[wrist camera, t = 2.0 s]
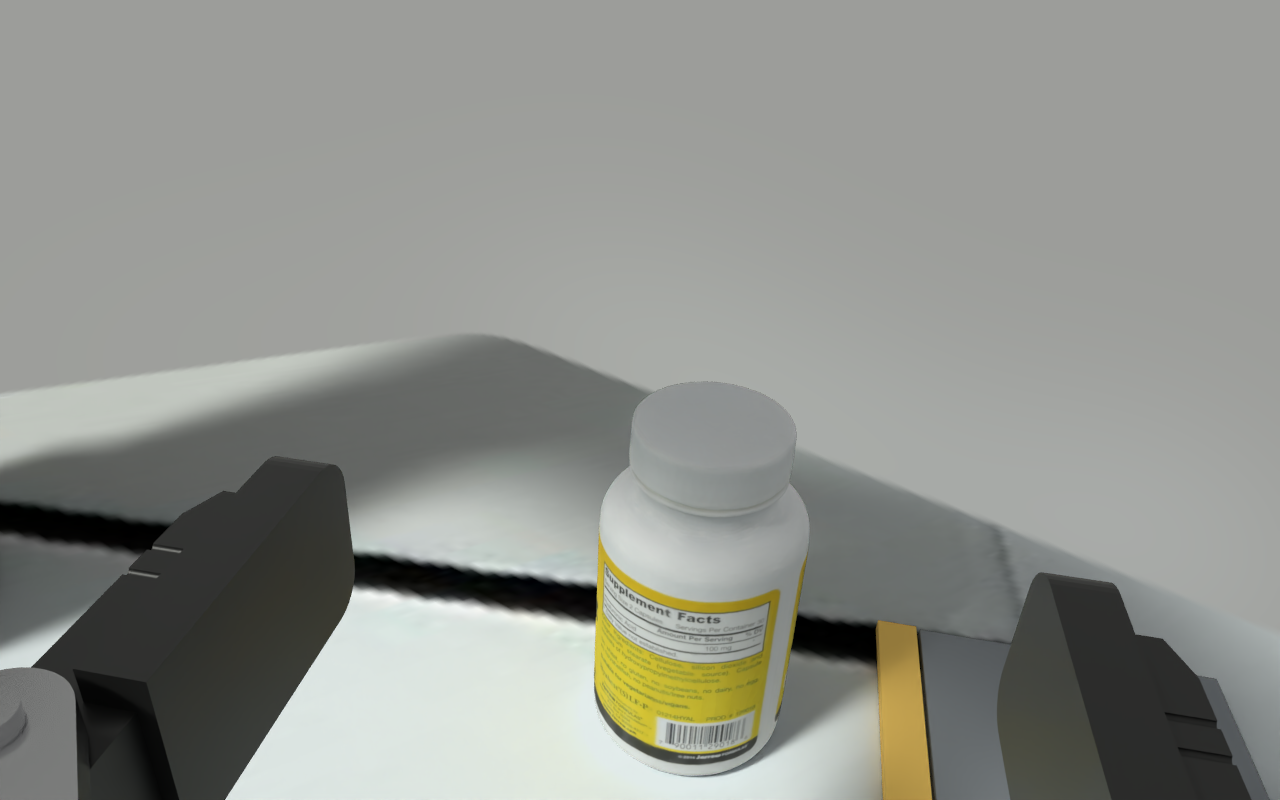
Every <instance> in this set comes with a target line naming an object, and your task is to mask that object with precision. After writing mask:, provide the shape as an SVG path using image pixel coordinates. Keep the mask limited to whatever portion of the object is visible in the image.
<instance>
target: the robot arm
mask: <svg viewBox="0 0 1280 800" xmlns="http://www.w3.org/2000/svg"><path fill="white" fill-rule="evenodd" d="M354 573H355V567H354V557H353V549H352V540H351V532H350V524H349V516H348V508H347V499H346V491H345V483H344V478H343V475H342V472H341V470H340V469H339V468H338V467H337V466H336V465H331V464H325V463H318V462H311V461H304V460H298V459H291V458H284V457H276V456H275V457H272V458H270V459H268V460H267V461H266V462H265V463H264V464H263V465H262V466H261V467H260V468H259V469H258V470H257V471H256V472H255V473H254V474H253V475H252V476H251V478H250V479H249V480H248V481H247V482H246V483H245V484H244V485H243V486H242V487H241V488H240V489H239V490H238V492H237V493H233V492H226V491H223V492H221V493H219V494H217V495H215V496H214V497H212V498H210V499H208V500H206V501H205V502H203V503H201V504H199V505H197V506H196V507H194V508H192V509H190V510H188V511H187V512H185V513H183V514H182V515H181V516H180V517H179V518H178V519H177V520H176V521H175V522H174V523H173V524H172V525H171V526H170V527H169V528H168V529H167V530H166V531H165V532H164V533H163V534H162V535H161V536H160V537H159V538H158V539H157V540H156V541H155V542H154V543H153V548H152V550H146V551H145V552H144V553H143V554H142V555H141V556H140V557H139V558H138V559H137V560H136V561H135V562H134V563H133V564H132V565H131V566H130V567H129V572H128V574H127V575H124V574H123V575H122V576H121V577H120V578H119V579H118V580H117V581H116V582H115V583H114V584H113V585H112V586H111V587H110V588H109V589H108V590H107V591H106V592H105V593H104V594H103V595H102V596H101V597H100V598H99V599H98V600H97V601H96V602H95V603H94V604H93V605H92V606H91V607H90V608H89V609H88V610H87V611H86V612H85V613H84V614H83V615H82V616H81V617H80V618H79V619H78V620H77V621H76V622H75V623H74V624H73V625H72V626H71V627H70V628H69V629H68V631H67V632H66V633H65V634H64V635H63V636H62V637H61V638H60V639H59V640H58V641H57V642H56V643H55V644H54V645H53V646H52V647H51V648H50V649H49V650H48V651H47V652H46V653H45V654H44V655H43V656H42V657H41V658H40V659H39V660H38V661H37V662H36V663H35V664H34V665H33V666H32V667H31V668H12V669H4V670H0V800H225V799H226V797H227V796H228V794H229V793H230V791H231V789H232V788H233V786H234V785H235V783H236V782H237V780H238V779H239V777H240V775H241V774H242V772H243V771H244V769H245V768H246V766H247V765H248V763H249V762H250V760H251V758H252V757H253V755H254V754H255V752H256V751H257V749H258V748H259V746H260V744H261V743H262V741H263V740H264V738H265V737H266V735H267V734H268V732H269V730H270V729H271V727H272V726H273V724H274V723H275V721H276V720H277V718H278V717H279V715H280V713H281V712H282V710H283V709H284V707H285V706H286V704H287V703H288V701H289V699H290V698H291V696H292V695H293V693H294V692H295V690H296V689H297V687H298V685H299V684H300V682H301V681H302V679H303V678H304V676H305V675H306V673H307V672H308V670H309V668H310V667H311V665H312V664H313V662H314V661H315V659H316V658H317V656H318V654H319V653H320V651H321V650H322V648H323V647H324V645H325V644H326V642H327V640H328V639H329V637H330V636H331V634H332V633H333V631H334V630H335V628H336V626H337V625H338V623H339V622H340V620H341V619H342V617H343V615H344V613H345V611H346V609H347V606H348V603H349V600H350V597H351V593H352V589H353V583H354ZM997 725H998V733H999V739H1000V745H1001V750H1002V756H1003V761H1004V767H1005V773H1006V778H1007V784H1008V789H1009V795H1010V800H1251V797H1250V795H1249V793H1248V790H1247V788H1246V786H1245V783H1244V781H1243V779H1242V776H1241V774H1240V772H1239V769H1238V767H1237V765H1233V764H1232V757H1233V756H1232V753H1231V751H1230V749H1229V746H1228V744H1227V742H1226V739H1225V737H1224V735H1223V732H1222V730H1221V729H1217V718H1216V716H1215V714H1214V712H1213V709H1212V707H1211V705H1210V702H1209V700H1208V698H1207V695H1206V693H1205V691H1204V688H1203V686H1202V684H1201V681H1200V679H1199V678H1198V677H1197V675H1196V674H1195V673H1194V672H1193V671H1192V670H1191V669H1190V668H1189V667H1188V666H1187V665H1186V664H1185V662H1184V661H1183V660H1182V659H1181V658H1180V657H1179V656H1178V655H1177V654H1176V653H1175V652H1174V651H1173V650H1172V648H1171V647H1170V646H1169V645H1168V644H1167V643H1166V642H1165V641H1164V640H1163V639H1161V638H1154V637H1148V636H1141V635H1135V632H1134V630H1133V627H1132V624H1131V622H1130V619H1129V616H1128V614H1127V611H1126V608H1125V606H1124V603H1123V600H1122V598H1121V595H1120V593H1119V591H1118V589H1117V587H1116V586H1115V585H1114V584H1113V583H1109V582H1103V581H1096V580H1089V579H1083V578H1076V577H1069V576H1063V575H1056V574H1049V573H1042V572H1041V573H1038V574H1037V575H1036V576H1035V578H1034V579H1033V581H1032V583H1031V586H1030V589H1029V592H1028V595H1027V598H1026V601H1025V604H1024V607H1023V610H1022V613H1021V616H1020V619H1019V622H1018V625H1017V628H1016V631H1015V634H1014V637H1013V640H1012V643H1011V646H1010V649H1009V653H1008V656H1007V659H1006V662H1005V665H1004V668H1003V671H1002V674H1001V679H1000V684H999V690H998V699H997Z"/></svg>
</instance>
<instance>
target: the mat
mask: <svg viewBox="0 0 1280 800" xmlns="http://www.w3.org/2000/svg"><path fill="white" fill-rule="evenodd" d="M918 639H919V650H920V660H921V671H922V682H923V692H924V703H925V714H926V724H927V735H928V745H929V756H930V767H931V777H932V788H933V799H934V800H1010V795H1009V789H1008V784H1007V778H1006V773H1005V767H1004V761H1003V756H1002V750H1001V745H1000V739H999V733H998V725H997V699H998V690H999V684H1000V679H1001V674H1002V671H1003V668H1004V665H1005V662H1006V659H1007V656H1008V653H1009V649H1010V646H1011V645H1010V644H1004V643H998V642H992V641H986V640H980V639H974V638H968V637H962V636H956V635H950V634H944V633H938V632H932V631H926V630H920V632H919V636H918ZM876 646H877V670H878V694H879V718H880V742H881V766H882V790H883V800H932V794H931V783H930V772H929V761H928V750H927V740H926V729H925V718H924V707H923V696H922V685H921V675H920V664H919V653H918V642H917V631H916V626H910V625H904V624H898V623H892V622H886V621H880V620H878V623H877V627H876ZM1197 677H1198V678H1199V679H1200V681H1201V684H1202V686H1203V688H1204V691H1205V693H1206V695H1207V698H1208V700H1209V702H1210V705H1211V707H1212V709H1213V712H1214V714H1215V716H1216V718H1217V729H1221V730H1222V732H1223V735H1224V737H1225V739H1226V742H1227V744H1228V746H1229V749H1230V751H1231V753H1232V756H1233V757H1232V764H1233V765H1237V767H1238V769H1239V772H1240V774H1241V776H1242V779H1243V781H1244V783H1245V786H1246V788H1247V790H1248V793H1249V795H1250V797H1251V800H1269V797H1268V795H1267V793H1266V790H1265V788H1264V786H1263V784H1262V781H1261V779H1260V777H1259V774H1258V772H1257V770H1256V768H1255V765H1254V763H1253V761H1252V759H1251V756H1250V754H1249V752H1248V749H1247V747H1246V745H1245V743H1244V740H1243V738H1242V736H1241V734H1240V731H1239V729H1238V727H1237V724H1236V722H1235V720H1234V718H1233V715H1232V713H1231V711H1230V709H1229V706H1228V704H1227V702H1226V699H1225V697H1224V695H1223V693H1222V690H1221V688H1220V686H1219V684H1218V681H1217V679H1214V678H1208V677H1202V676H1197Z"/></svg>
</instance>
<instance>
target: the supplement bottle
mask: <svg viewBox="0 0 1280 800" xmlns="http://www.w3.org/2000/svg"><path fill="white" fill-rule="evenodd" d="M795 445H796V428H795V424H794V422H793V420H792V418H791V416H790V415H789V413H788V412H787V411H786V410H785V409H784V408H783V407H782V406H781V405H779V404H778V403H777V402H776V401H774V400H773V399H771V398H769V397H767V396H766V395H764V394H761V393H759V392H757V391H754V390H751V389H748V388H745V387H741V386H737V385H733V384H727V383H718V382H689V383H681V384H676V385H672V386H668V387H665V388H663V389H660V390H658V391H656V392H653V393H652V394H650V395H648V396H647V397H646V398H645V399H643V400H642V401H641V402H640V403H639V405H638V406H637V407H636V409H635V411H634V414H633V418H632V427H631V441H630V448H629V459H630V466H629V467H628V468H626V469H625V470H624V471H623V472H622V473H620V474H619V476H618V477H617V478H616V479H615V480H614V481H613V483H612V484H611V485H610V487H609V489H608V491H607V493H606V495H605V497H604V500H603V503H602V507H601V514H600V522H599V548H598V578H597V603H596V637H595V667H594V695H595V704H596V709H597V713H598V716H599V719H600V721H601V723H602V725H603V727H604V729H605V730H606V732H607V733H608V735H609V736H610V737H611V739H612V740H613V741H614V742H615V743H616V744H617V745H618V746H619V747H620V748H621V749H622V750H623V751H624V752H626V753H627V754H628V755H630V756H631V757H633V758H634V759H636V760H638V761H639V762H641V763H643V764H645V765H647V766H649V767H651V768H654V769H657V770H660V771H663V772H667V773H672V774H677V775H685V776H699V775H711V774H717V773H721V772H724V771H727V770H730V769H732V768H735V767H737V766H739V765H741V764H743V763H745V762H746V761H748V760H749V759H751V758H752V757H753V756H755V755H756V754H757V753H758V752H759V751H760V750H761V749H762V748H763V747H764V745H765V744H766V743H767V741H768V740H769V738H770V737H771V735H772V733H773V731H774V729H775V727H776V724H777V720H778V716H779V712H780V708H781V703H782V697H783V693H784V687H785V682H786V676H787V669H788V663H789V658H790V652H791V646H792V641H793V635H794V629H795V623H796V617H797V612H798V605H799V600H800V594H801V589H802V583H803V577H804V571H805V565H806V560H807V554H808V547H809V537H810V523H809V517H808V513H807V510H806V507H805V504H804V502H803V500H802V499H801V497H800V495H799V494H798V492H797V491H796V490H795V488H794V487H793V486H792V485H791V484H790V483H789V482H790V476H791V472H792V467H793V460H794V452H795Z"/></svg>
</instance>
